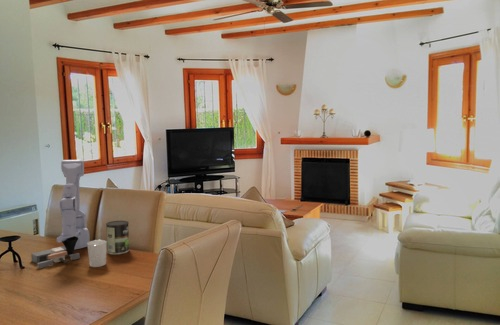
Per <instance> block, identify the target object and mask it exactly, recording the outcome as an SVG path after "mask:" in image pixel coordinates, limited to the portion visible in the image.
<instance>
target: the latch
mask: <svg viewBox="0 0 500 325" xmlns="http://www.w3.org/2000/svg"><path fill="white" fill-rule="evenodd" d="M65 255H67V251H64V252H60V253H55V254H51V255H48V259H52V258H56V257H60V256H65Z"/></svg>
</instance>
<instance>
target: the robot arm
mask: <svg viewBox="0 0 500 325" xmlns="http://www.w3.org/2000/svg"><path fill="white" fill-rule="evenodd" d="M60 164H61V167H60V168H61V172H62V174H63V176H64V177H65V180H66V181H65V185H63V187H62V195H61V199H60V200H59V209H60V215H61V226H62V227H61V228H62V230H61V232H62V233H60V236H58V237H56V243H62V244H63V246H65V248H66V250H67V253H68V254H75V253H74V251H75V250H79V249H83V248H88V246H87V243H88V242H90V241H91V239H90V231H89V229H88V228H87V214H86V212H84V210H82V209H81V205H80V200H81V199H80V197H81V196H80V195H81V194H80V179H81V177H83V176H84V175H85V161H84V160H83V159H82V158H81V159H62V160H61V163H60Z"/></svg>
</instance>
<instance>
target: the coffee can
mask: <svg viewBox="0 0 500 325" xmlns="http://www.w3.org/2000/svg"><path fill="white" fill-rule="evenodd" d="M129 224H130V223H129V220H128V221H127V220H112V221H109V222H108V221H107V222H106V223H105V226H106V241H107V252H106V254H109V255H114V256H115V255H124V254H126V253H129V251H130V242H129V241H130V234H129V230H130V229H129Z"/></svg>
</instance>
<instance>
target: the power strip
mask: <svg viewBox="0 0 500 325" xmlns="http://www.w3.org/2000/svg"><path fill="white" fill-rule="evenodd" d="M60 247H61V248H62V249H64V251H67V250H66V248H65V246H64V245H62V246H60ZM30 254H31V255H30V257H31V262H33V263H35V264H36V265H37V267H36V268H37V269H38V270H39V269H42V268H47V267H51V266H54V261H53V260H51V259H48V255H50V249H49V248H48V249H45V250H41V251H36V252H32V253H30ZM68 257H69V260H70V261H73V260H78V259H81V253H80V252H76V253H73V254H68V253H67V255H65V258H68Z"/></svg>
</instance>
